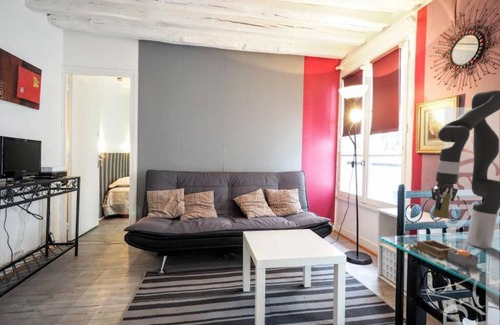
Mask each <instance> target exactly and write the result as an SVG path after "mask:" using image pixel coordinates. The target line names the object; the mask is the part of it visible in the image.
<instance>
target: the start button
mask: <svg viewBox="0 0 500 325" xmlns="http://www.w3.org/2000/svg"><path fill="white" fill-rule="evenodd" d="M456 250H457V254H460V255H462V256H464V257H469V256H470V254H471V252H470V251H469V250H465V249H461V248H458V249H456Z"/></svg>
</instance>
